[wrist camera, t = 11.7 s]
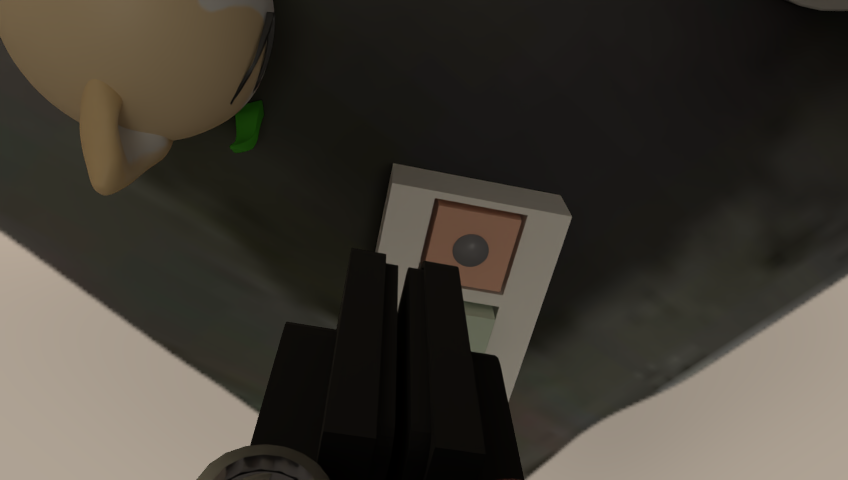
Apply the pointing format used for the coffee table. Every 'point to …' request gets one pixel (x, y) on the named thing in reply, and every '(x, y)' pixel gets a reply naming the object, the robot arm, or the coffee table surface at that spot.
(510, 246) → the terracotta key
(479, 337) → the sage key
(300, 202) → the coffee table surface
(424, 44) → the coffee table surface
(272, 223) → the coffee table surface
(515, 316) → the keypad
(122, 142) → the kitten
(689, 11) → the coffee table surface
